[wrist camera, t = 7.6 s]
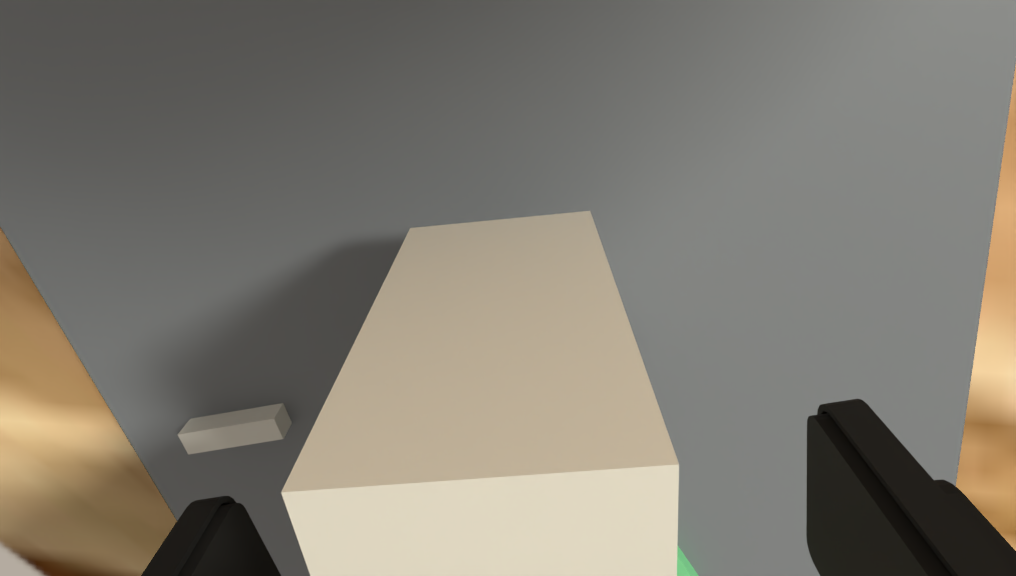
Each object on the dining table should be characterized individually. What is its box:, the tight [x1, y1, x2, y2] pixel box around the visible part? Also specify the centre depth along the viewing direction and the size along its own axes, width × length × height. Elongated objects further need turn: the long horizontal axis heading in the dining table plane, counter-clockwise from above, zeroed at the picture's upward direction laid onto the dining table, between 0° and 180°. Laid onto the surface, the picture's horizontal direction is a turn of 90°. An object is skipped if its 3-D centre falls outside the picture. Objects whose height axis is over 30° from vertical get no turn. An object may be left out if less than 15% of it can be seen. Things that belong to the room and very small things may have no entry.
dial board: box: [0, 0, 1016, 576], centre depth 14 cm, size 20×20×2 cm
